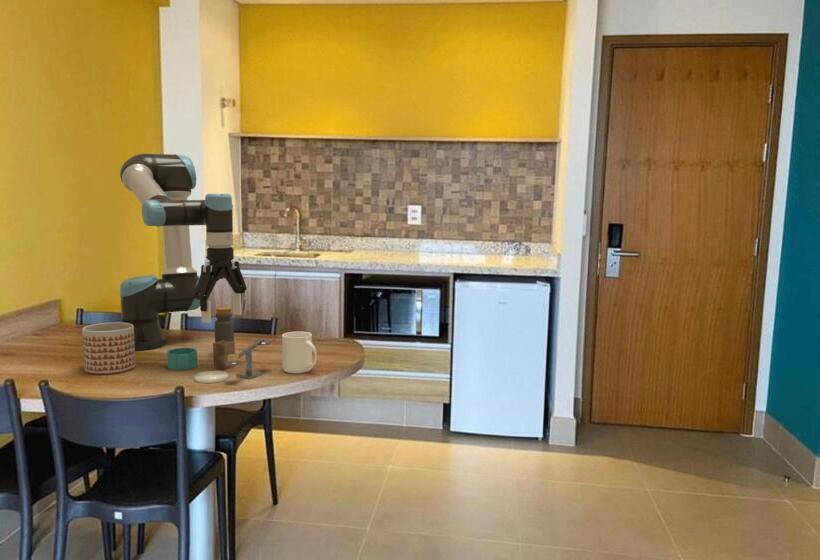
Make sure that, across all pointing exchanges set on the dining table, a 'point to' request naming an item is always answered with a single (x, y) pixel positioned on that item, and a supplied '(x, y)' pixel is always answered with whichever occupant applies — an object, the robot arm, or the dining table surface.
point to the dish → (211, 377)
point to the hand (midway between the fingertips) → (222, 318)
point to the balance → (234, 360)
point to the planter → (108, 348)
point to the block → (222, 353)
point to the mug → (297, 352)
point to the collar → (182, 358)
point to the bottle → (224, 325)
